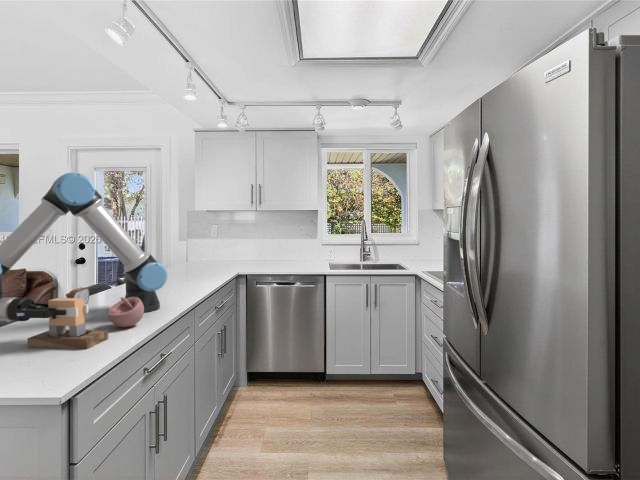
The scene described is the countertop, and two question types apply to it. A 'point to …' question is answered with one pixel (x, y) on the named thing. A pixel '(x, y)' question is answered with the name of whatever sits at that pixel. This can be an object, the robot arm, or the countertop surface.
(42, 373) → the countertop surface
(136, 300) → the mortar and pestle
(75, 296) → the tin
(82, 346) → the wooden compartment tray
